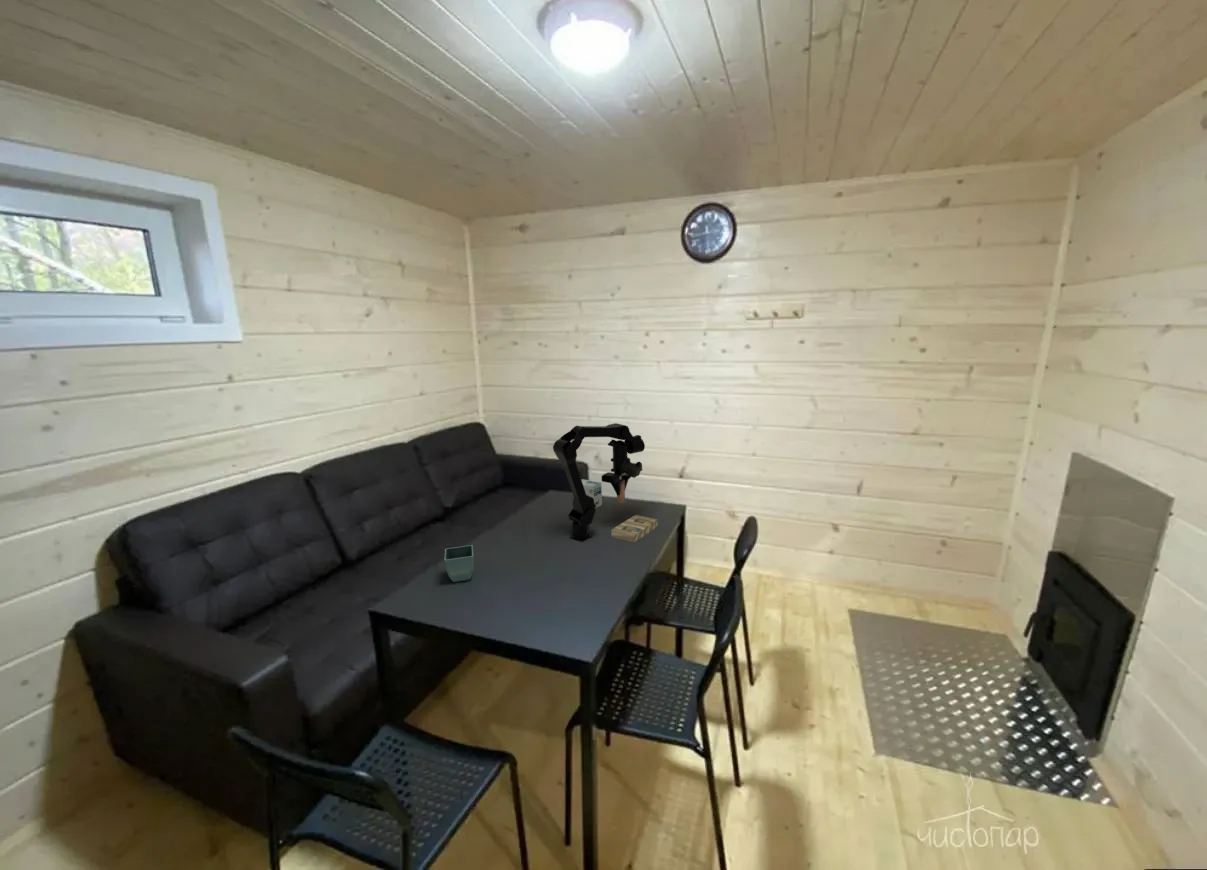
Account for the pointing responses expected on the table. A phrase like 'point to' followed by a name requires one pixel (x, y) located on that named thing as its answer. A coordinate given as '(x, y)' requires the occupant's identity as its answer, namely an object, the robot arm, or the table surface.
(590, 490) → the light bulb box
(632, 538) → the socket block
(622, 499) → the plug
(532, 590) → the table surface
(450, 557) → the flower pot
